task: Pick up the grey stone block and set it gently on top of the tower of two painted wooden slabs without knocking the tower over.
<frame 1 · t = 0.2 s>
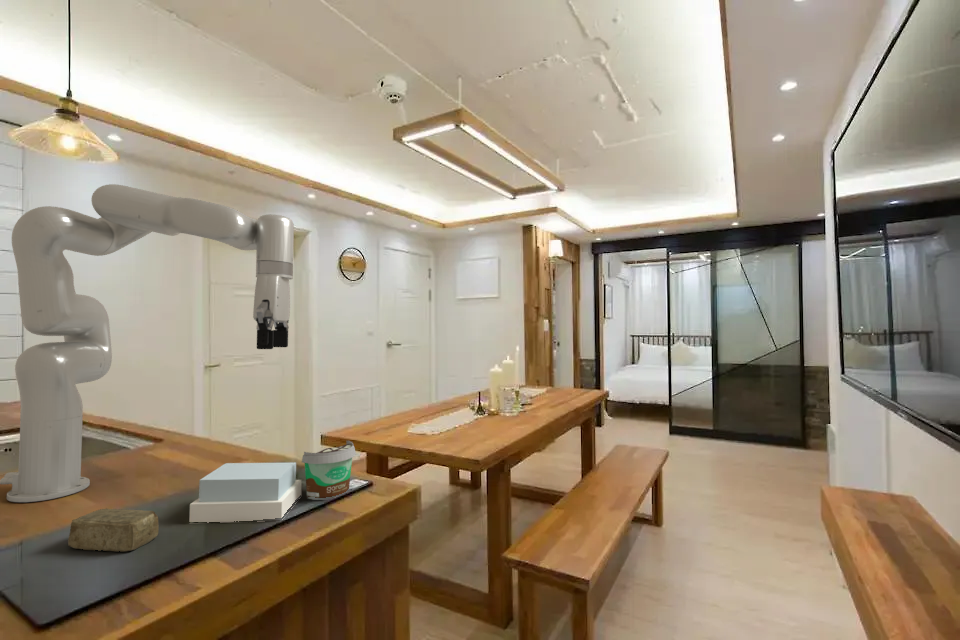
hand: (273, 348, 99), 31 cm above the counter, tool pointing down, fingers open, 9 cm apart
tower top slab: (250, 491, 87), point 3 cm above the counter, touching tower base slab
stone block: (114, 546, 72), on the counter
food container: (335, 496, 94), on the counter
tower base slab: (249, 511, 87), on the counter, touching tower top slab
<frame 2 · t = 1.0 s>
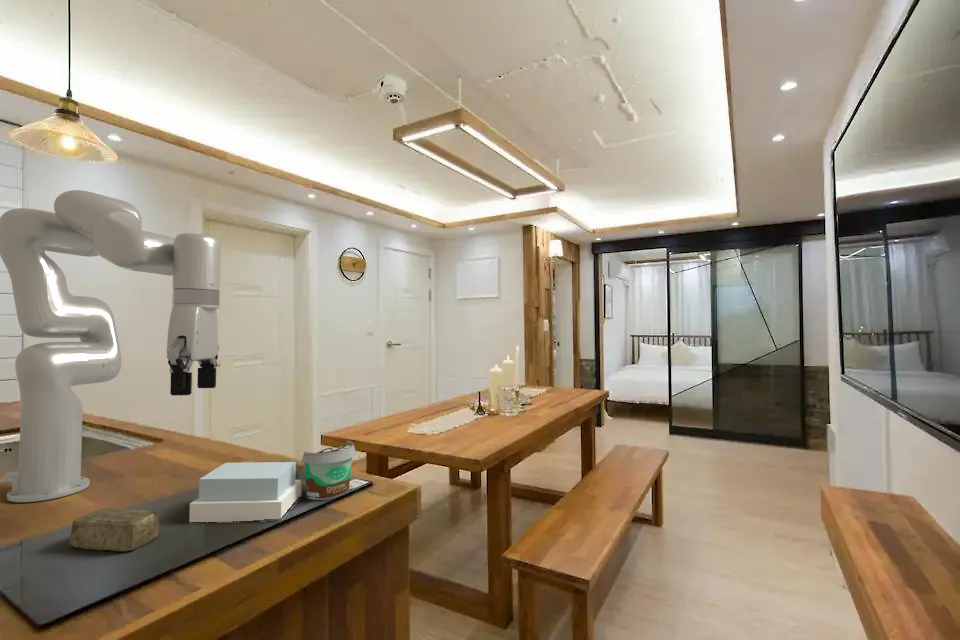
hand: (194, 391, 83), 23 cm above the counter, tool pointing down, fingers open, 9 cm apart
tower top slab: (250, 490, 87), point 3 cm above the counter
tower base slab: (249, 511, 87), on the counter
everything else where it was.
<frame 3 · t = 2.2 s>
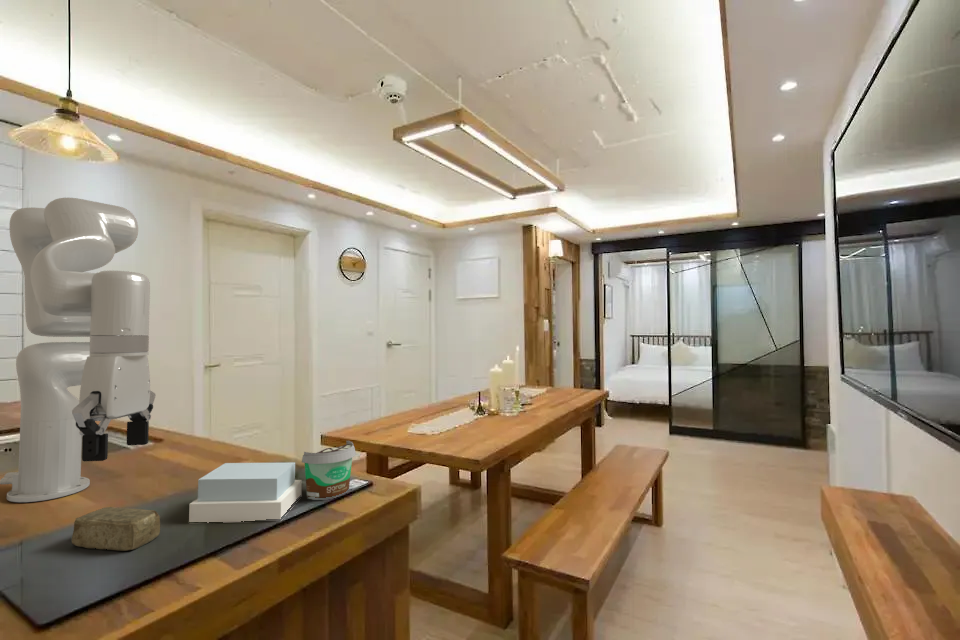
hand: (117, 452, 72), 15 cm above the counter, tool pointing down, fingers open, 9 cm apart
tower top slab: (249, 490, 87), point 3 cm above the counter, touching tower base slab
tower base slab: (249, 511, 86), on the counter, touching tower top slab
everything else where it was.
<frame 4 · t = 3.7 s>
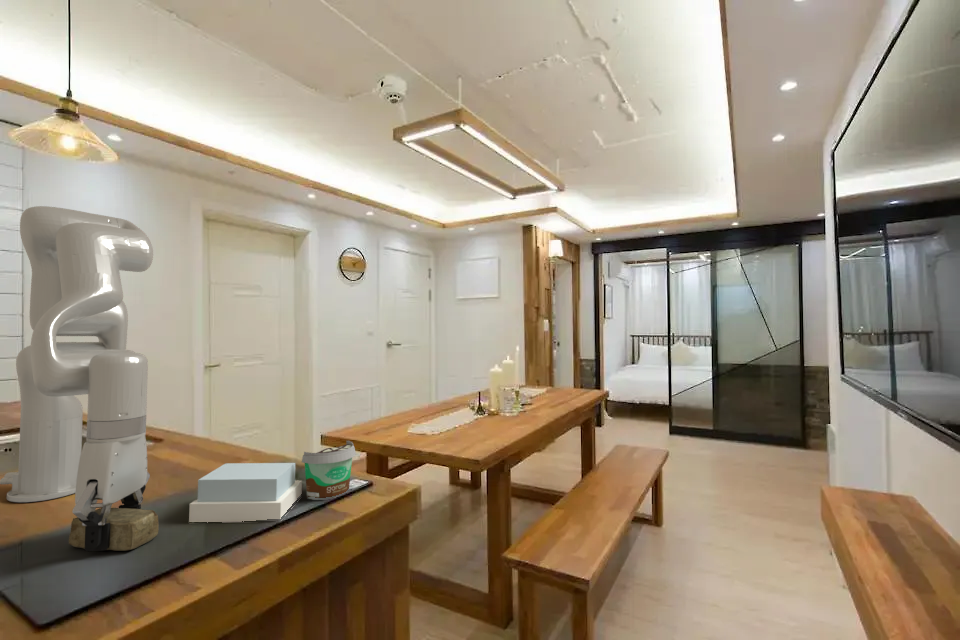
hand: (113, 537, 72), 1 cm above the counter, tool pointing down, fingers closed on stone block, 6 cm apart
stone block: (114, 544, 72), on the counter, touching gripper
everything else where it was.
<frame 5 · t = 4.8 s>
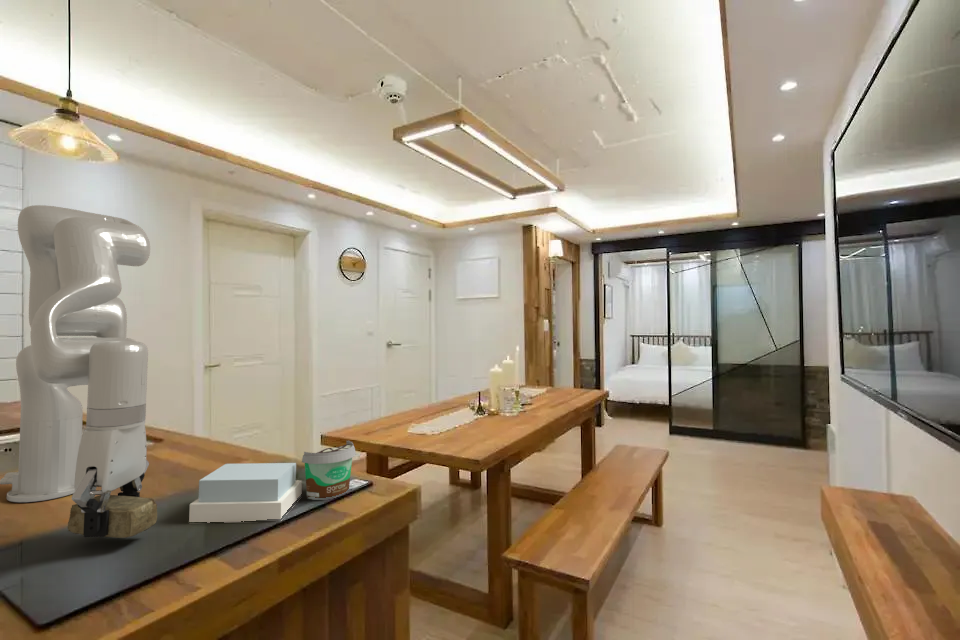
hand: (112, 524, 72), 3 cm above the counter, tool pointing down, fingers closed on stone block, 6 cm apart
stone block: (113, 532, 72), point 2 cm above the counter, touching gripper
everything else where it was.
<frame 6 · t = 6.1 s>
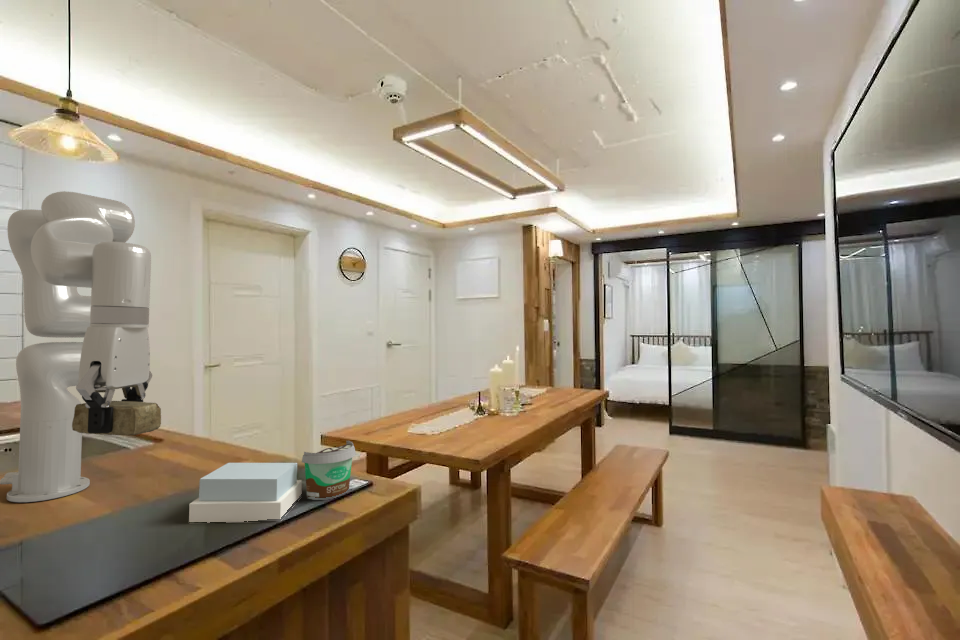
hand: (116, 426, 73), 19 cm above the counter, tool pointing down, fingers closed on stone block, 6 cm apart
stone block: (117, 433, 72), point 18 cm above the counter, touching gripper
everything else where it was.
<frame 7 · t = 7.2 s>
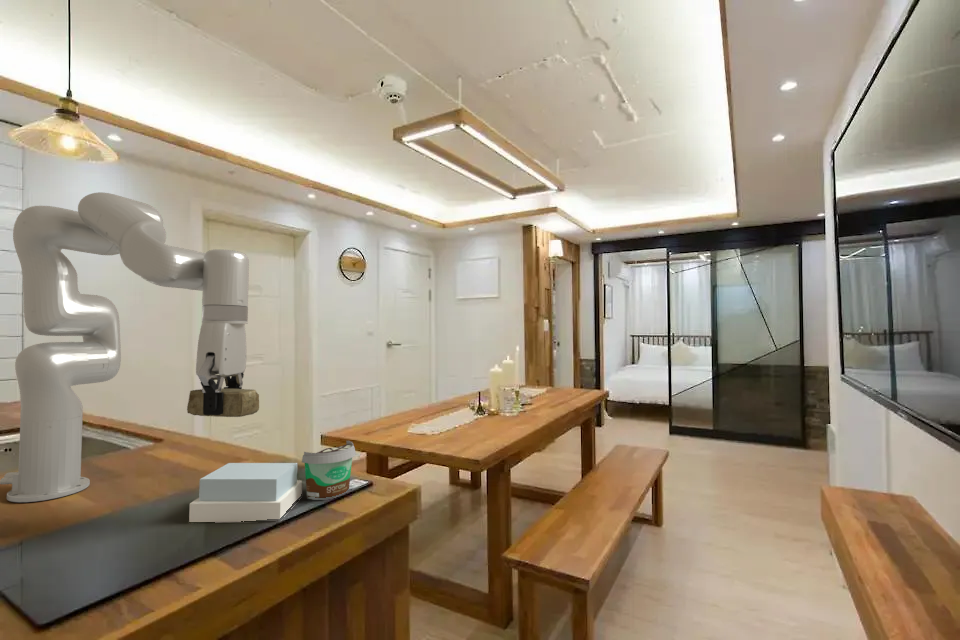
hand: (223, 410, 83), 20 cm above the counter, tool pointing down, fingers closed on stone block, 6 cm apart
stone block: (223, 416, 83), point 19 cm above the counter, touching gripper
everything else where it was.
when the fingers open (10 cm above the counter, at t = 10.3 s): stone block drops 2 cm, resting on tower top slab.
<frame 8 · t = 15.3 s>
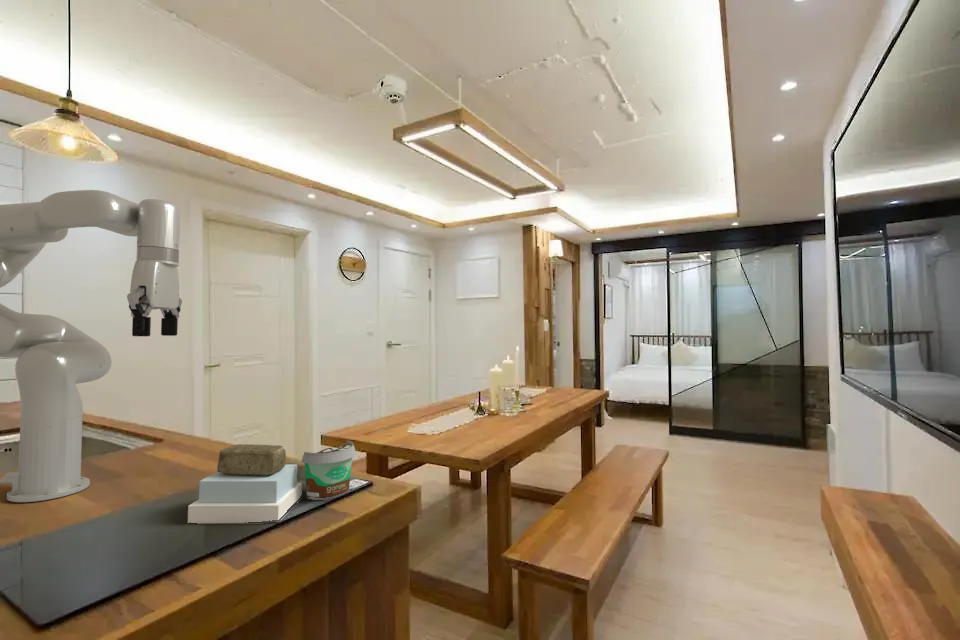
hand: (155, 335, 97), 33 cm above the counter, tool pointing down, fingers open, 9 cm apart
tower top slab: (250, 492, 86), point 3 cm above the counter, touching stone block, tower base slab
stone block: (252, 473, 87), point 7 cm above the counter, touching tower top slab
everything else where it was.
at the end: stone block 0.0 cm off-centre on the tower top slab, point 3.8 cm above the tower top slab's base; tower top slab 0.3 cm off-centre on the tower base slab, point 4.0 cm above the tower base slab's base; the gripper is holding nothing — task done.
